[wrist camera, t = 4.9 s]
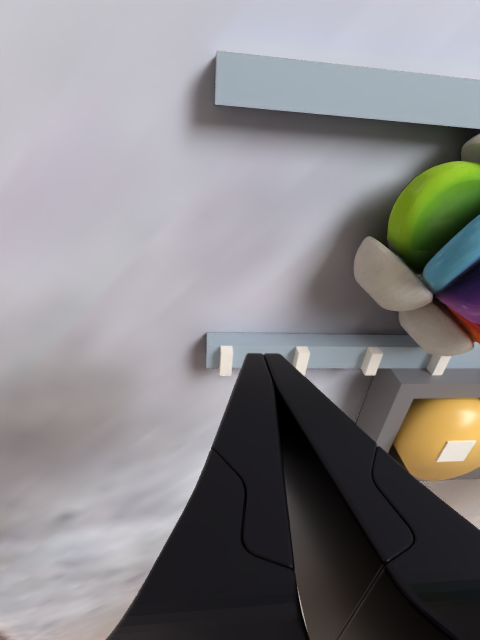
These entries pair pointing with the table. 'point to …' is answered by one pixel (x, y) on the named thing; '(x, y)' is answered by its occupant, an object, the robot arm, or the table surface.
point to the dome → (440, 437)
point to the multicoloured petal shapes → (432, 257)
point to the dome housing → (397, 395)
